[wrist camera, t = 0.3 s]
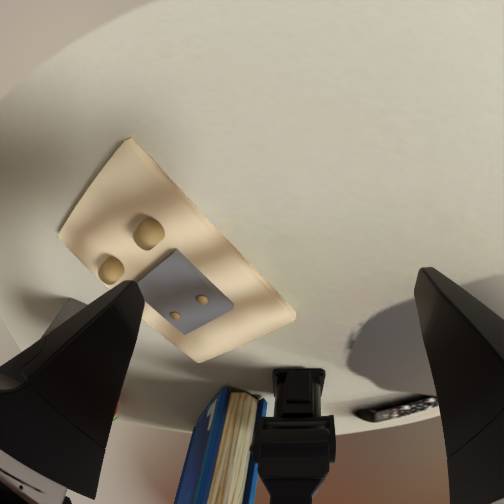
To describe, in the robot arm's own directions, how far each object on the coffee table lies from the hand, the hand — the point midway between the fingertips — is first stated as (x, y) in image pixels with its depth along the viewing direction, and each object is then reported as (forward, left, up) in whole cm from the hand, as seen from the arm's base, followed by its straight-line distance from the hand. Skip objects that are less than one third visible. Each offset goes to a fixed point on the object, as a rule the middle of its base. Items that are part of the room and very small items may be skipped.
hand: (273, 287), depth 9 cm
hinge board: (-10, +11, -15) cm, 21 cm away
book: (-40, +11, -15) cm, 44 cm away
